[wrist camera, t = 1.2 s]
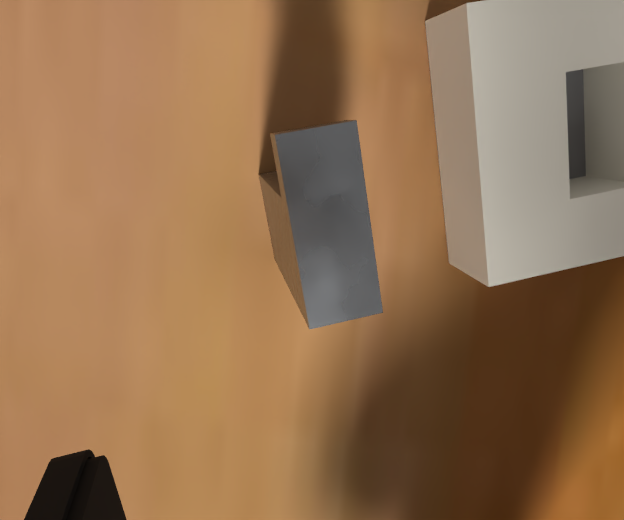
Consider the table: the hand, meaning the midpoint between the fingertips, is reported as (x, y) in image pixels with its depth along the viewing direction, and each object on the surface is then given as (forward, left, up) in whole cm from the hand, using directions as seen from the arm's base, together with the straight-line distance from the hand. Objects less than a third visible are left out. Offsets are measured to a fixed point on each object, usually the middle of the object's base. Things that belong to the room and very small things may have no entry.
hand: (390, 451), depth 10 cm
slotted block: (+2, -18, -23) cm, 29 cm away
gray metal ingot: (+1, -2, -23) cm, 23 cm away
